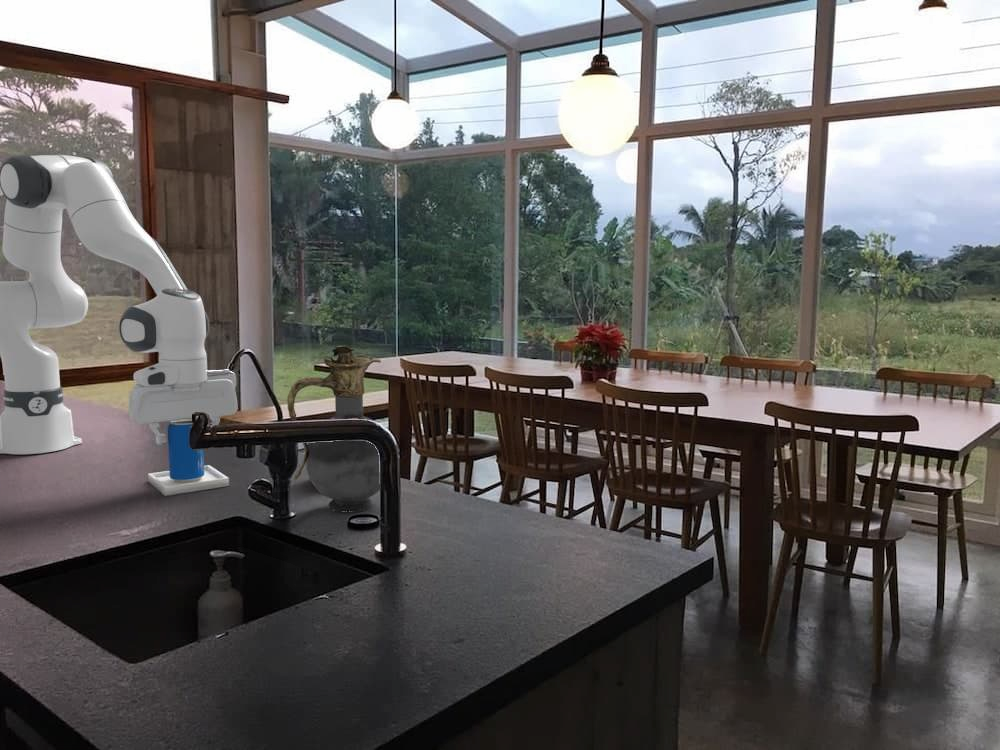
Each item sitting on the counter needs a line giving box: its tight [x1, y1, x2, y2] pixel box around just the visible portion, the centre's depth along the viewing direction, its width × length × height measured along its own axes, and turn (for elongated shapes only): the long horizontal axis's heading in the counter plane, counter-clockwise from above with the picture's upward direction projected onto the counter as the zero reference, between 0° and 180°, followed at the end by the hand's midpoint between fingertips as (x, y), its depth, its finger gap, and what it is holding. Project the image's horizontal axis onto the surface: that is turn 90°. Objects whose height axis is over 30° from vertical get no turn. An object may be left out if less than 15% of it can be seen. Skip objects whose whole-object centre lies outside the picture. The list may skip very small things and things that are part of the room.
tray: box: [147, 464, 230, 497], centre depth 162 cm, size 12×12×2 cm
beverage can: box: [167, 419, 205, 483], centre depth 161 cm, size 6×6×12 cm
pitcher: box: [287, 345, 381, 513], centre depth 146 cm, size 11×19×30 cm, turn 121°
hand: (185, 440), depth 161 cm, fingers open, 8 cm apart
